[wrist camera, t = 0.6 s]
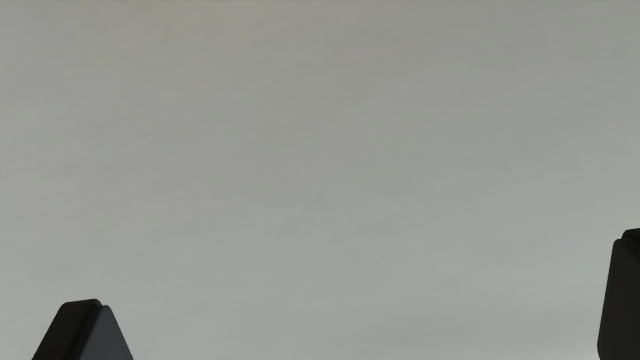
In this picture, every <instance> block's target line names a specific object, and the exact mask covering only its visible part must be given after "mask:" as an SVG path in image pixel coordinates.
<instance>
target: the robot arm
mask: <svg viewBox="0 0 640 360" xmlns="http://www.w3.org/2000/svg"><path fill="white" fill-rule="evenodd" d="M597 349H598V354H599V358H600V360H640V228H636V229H629V230H626V231H625V232H624V233H623V235H622V238H621V239H617V240H615V242H614V244H613V249H612V255H611V261H610V267H609V274H608V280H607V286H606V292H605V298H604V304H603V311H602V317H601V323H600V329H599V335H598V341H597ZM32 360H134V359H133V357H132V355H131V353H130V350H129V348H128V346H127V344H126V341H125V339H124V337H123V335H122V332H121V330H120V328H119V326H118V323H117V321H116V319H115V317H114V314H113V312H112V310H111V308H110V307H109V306H108V305H103V306H102V304H101V302H100V301H99V300H97V299H89V300H81V301H73V302H66V303H64V304H62V306H61V307H60V308H59V310H58V312H57V314H56V316H55V317H54V319H53V321H52V323H51V325H50V327H49V329H48V330H47V332H46V334H45V336H44V338H43V340H42V342H41V343H40V345H39V347H38V349H37V351H36V353H35V354H34V356H33V358H32Z"/></svg>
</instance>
